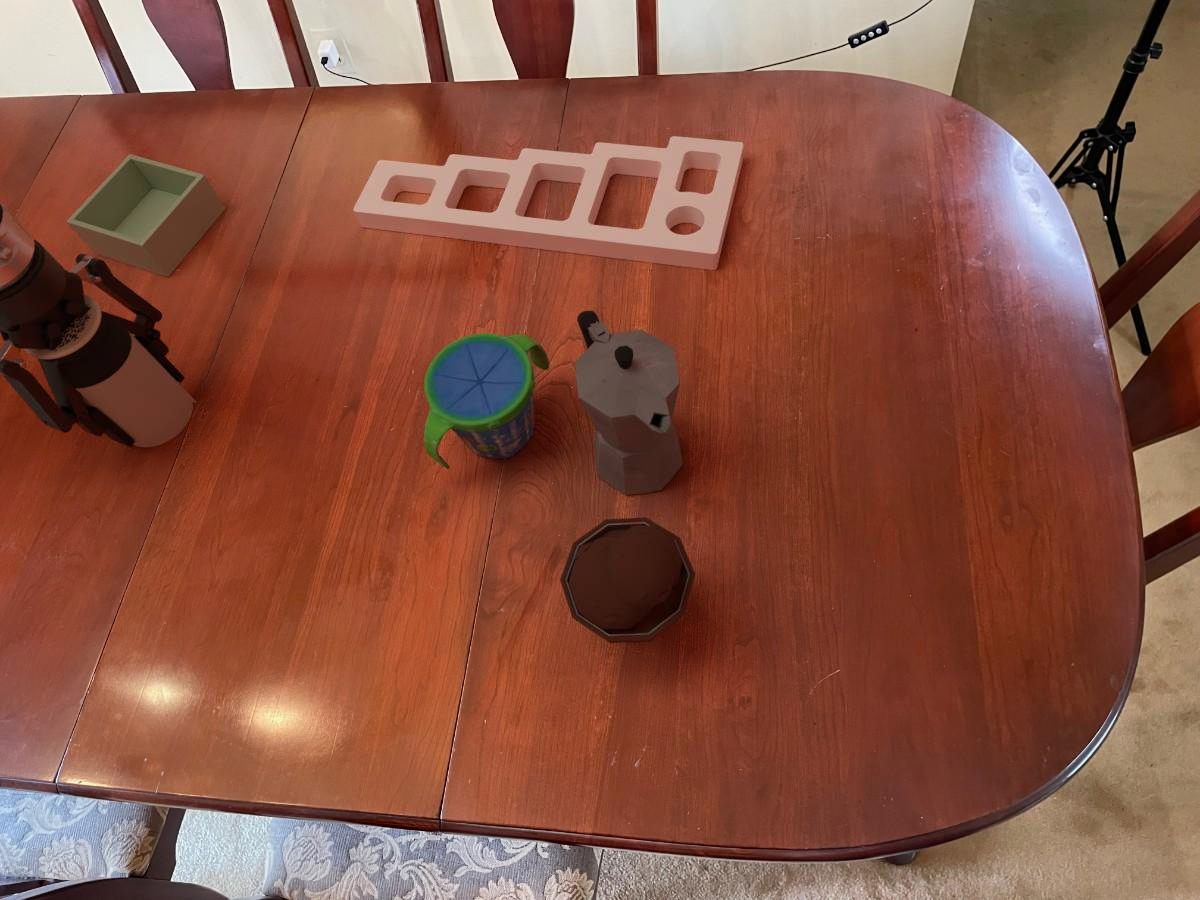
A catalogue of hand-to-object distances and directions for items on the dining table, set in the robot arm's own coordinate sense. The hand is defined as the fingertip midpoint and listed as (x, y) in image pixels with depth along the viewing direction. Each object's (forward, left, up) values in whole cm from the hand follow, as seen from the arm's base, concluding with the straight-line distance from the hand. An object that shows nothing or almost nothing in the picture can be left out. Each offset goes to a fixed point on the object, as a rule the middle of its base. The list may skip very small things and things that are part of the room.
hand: (148, 408), depth 91 cm
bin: (-20, +24, -3) cm, 31 cm away
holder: (+26, +45, -4) cm, 52 cm away
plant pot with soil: (+57, -1, -4) cm, 57 cm away
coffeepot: (+50, +15, -4) cm, 52 cm away
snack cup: (+36, +12, -4) cm, 38 cm away
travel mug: (0, 0, -4) cm, 4 cm away
